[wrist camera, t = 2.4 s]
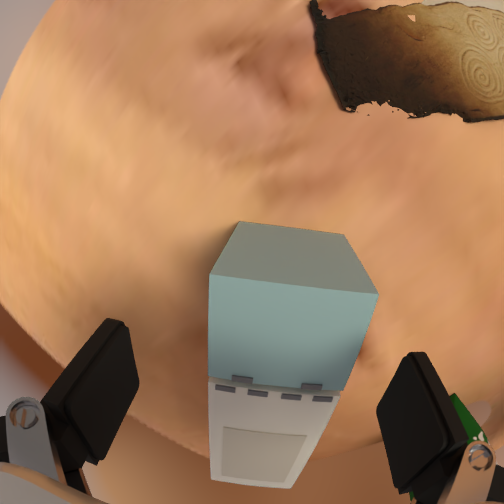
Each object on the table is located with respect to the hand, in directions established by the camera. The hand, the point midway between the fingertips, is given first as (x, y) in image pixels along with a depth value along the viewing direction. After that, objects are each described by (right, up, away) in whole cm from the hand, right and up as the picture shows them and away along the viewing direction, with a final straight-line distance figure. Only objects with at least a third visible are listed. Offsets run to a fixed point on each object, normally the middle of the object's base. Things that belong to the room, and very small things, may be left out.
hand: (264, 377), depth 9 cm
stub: (+2, +3, +8) cm, 9 cm away
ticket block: (+1, -5, +12) cm, 13 cm away
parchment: (+15, +18, +2) cm, 23 cm away
